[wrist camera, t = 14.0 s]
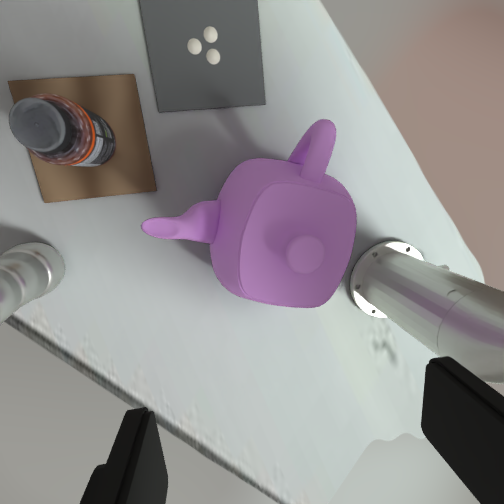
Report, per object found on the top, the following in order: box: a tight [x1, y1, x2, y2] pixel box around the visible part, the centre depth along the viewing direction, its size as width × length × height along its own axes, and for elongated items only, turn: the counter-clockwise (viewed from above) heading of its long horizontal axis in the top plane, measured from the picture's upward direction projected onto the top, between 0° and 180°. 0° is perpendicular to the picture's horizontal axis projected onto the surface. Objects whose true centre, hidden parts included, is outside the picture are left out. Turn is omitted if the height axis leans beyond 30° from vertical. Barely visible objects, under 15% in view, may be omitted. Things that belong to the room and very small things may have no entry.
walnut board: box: [8, 74, 157, 203], centre depth 33 cm, size 13×13×1 cm
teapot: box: [141, 119, 357, 308], centre depth 31 cm, size 23×21×15 cm
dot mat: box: [139, 0, 266, 112], centre depth 32 cm, size 13×13×1 cm
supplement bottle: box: [9, 93, 116, 167], centre depth 27 cm, size 6×6×11 cm
